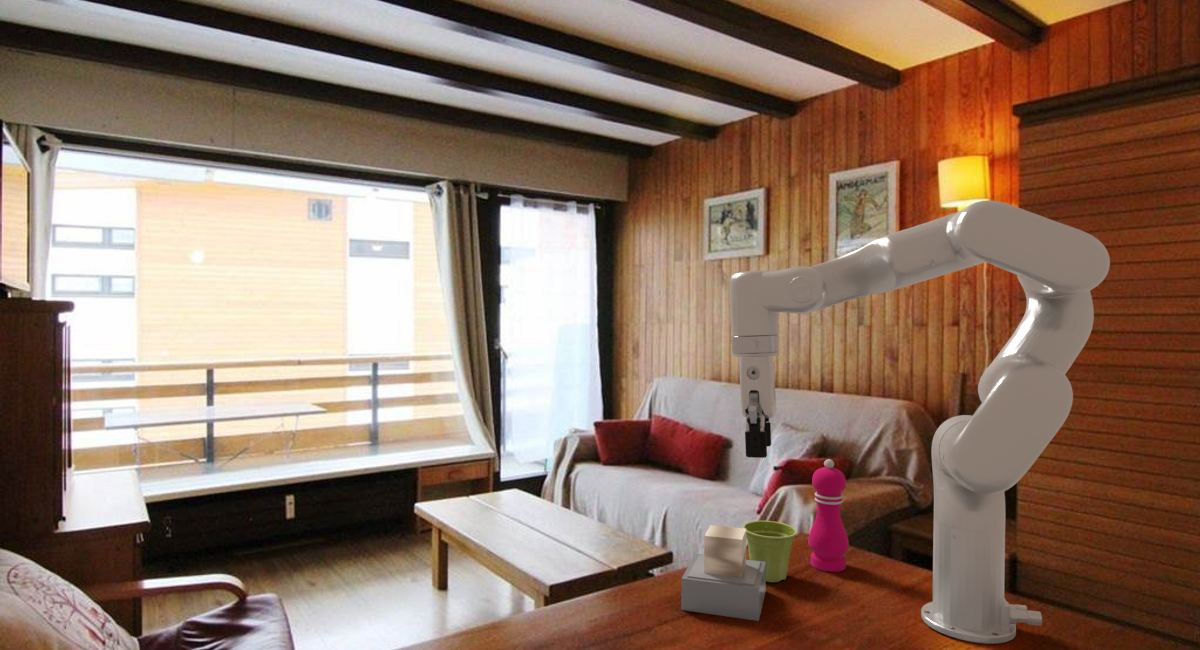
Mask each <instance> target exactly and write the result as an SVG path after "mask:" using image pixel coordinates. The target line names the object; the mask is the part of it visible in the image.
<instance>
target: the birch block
mask: <svg viewBox="0 0 1200 650" xmlns="http://www.w3.org/2000/svg"><path fill="white" fill-rule="evenodd" d="M703 537H704V544H703V545H704V546H703V553H704V573H710V574H718V575H726V576H734V577H742V576H743V572H744V569H745V566H746V560H747V538H746V529H745V528H743V527H736V526H735V527H734V526H724V525H723V526H722V525H715V524H713V525H712V524H710V525H709V527H708V529H707V530H706V532H705V533H704V536H703Z"/></svg>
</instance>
